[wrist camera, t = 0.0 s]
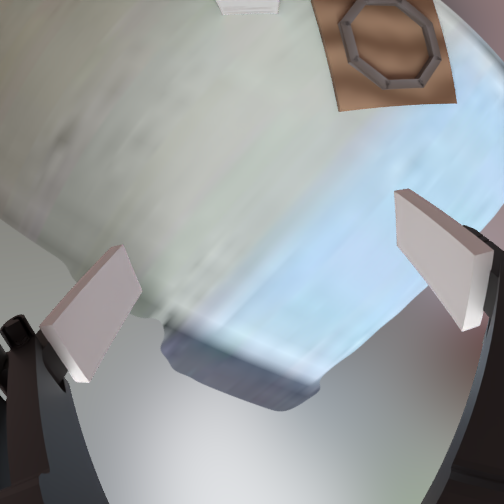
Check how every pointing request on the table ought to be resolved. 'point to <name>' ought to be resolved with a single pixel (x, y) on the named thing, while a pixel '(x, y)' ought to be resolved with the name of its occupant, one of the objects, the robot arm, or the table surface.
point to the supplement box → (248, 6)
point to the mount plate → (385, 53)
